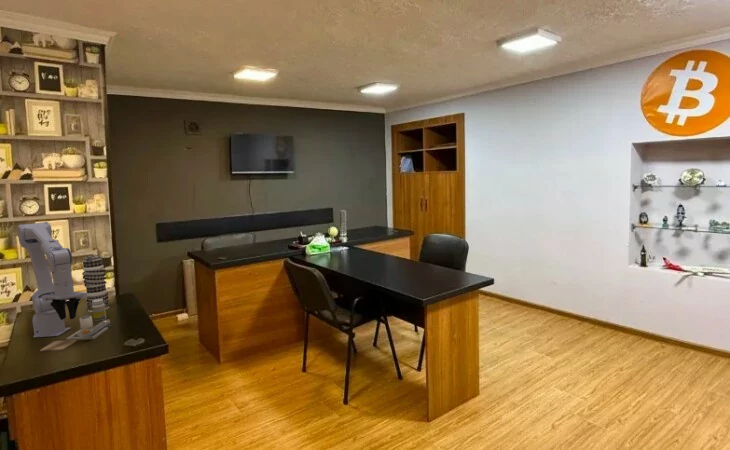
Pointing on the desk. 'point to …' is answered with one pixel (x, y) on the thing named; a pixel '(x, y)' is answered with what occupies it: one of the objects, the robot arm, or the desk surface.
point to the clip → (95, 328)
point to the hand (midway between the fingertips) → (68, 318)
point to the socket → (88, 337)
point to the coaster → (58, 345)
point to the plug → (85, 324)
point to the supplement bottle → (98, 310)
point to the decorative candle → (94, 280)
